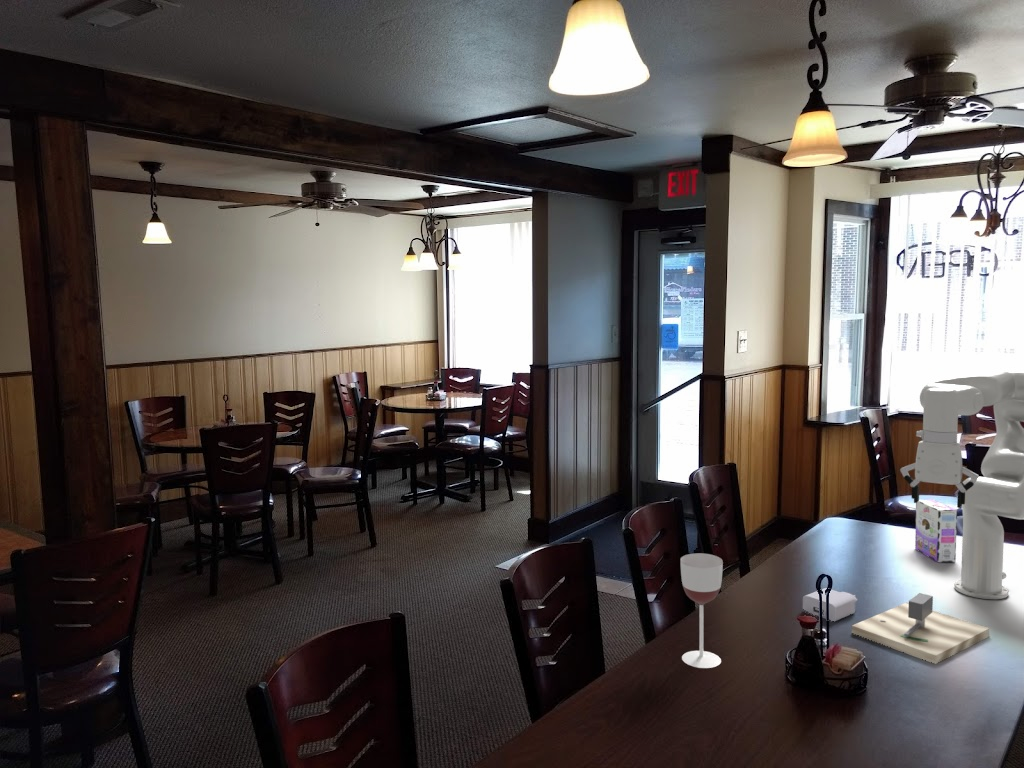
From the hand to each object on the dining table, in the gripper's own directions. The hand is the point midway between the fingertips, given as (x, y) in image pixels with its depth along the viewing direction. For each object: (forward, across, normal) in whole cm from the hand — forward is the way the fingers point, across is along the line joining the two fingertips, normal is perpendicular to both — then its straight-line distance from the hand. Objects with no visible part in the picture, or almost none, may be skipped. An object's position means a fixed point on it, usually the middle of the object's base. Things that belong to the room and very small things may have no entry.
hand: (937, 504), depth 194 cm
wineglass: (+28, -39, -57) cm, 75 cm away
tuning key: (+26, -1, -20) cm, 33 cm away
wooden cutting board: (+28, -1, -17) cm, 33 cm away
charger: (+29, -21, -12) cm, 38 cm away
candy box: (+29, -7, +49) cm, 57 cm away
